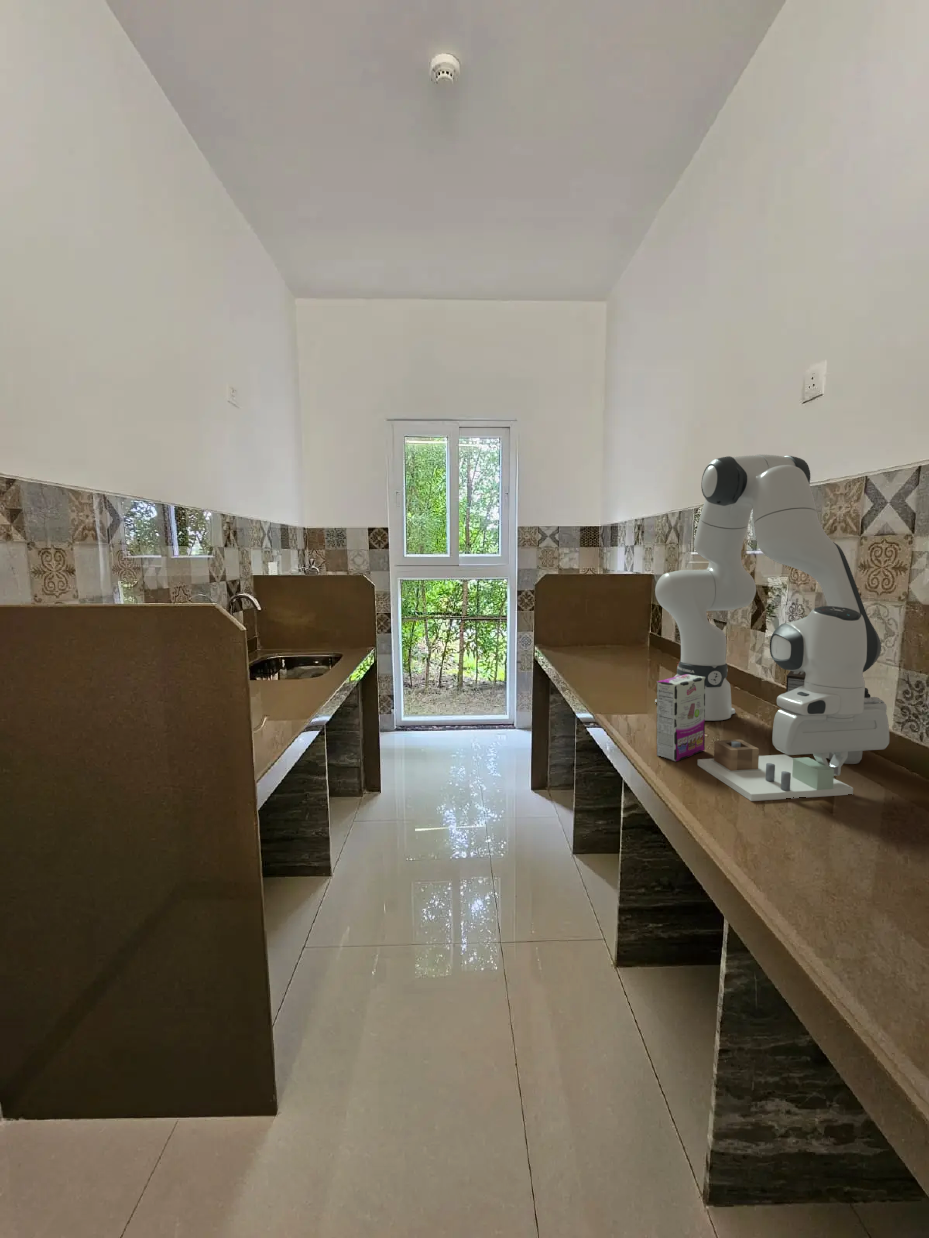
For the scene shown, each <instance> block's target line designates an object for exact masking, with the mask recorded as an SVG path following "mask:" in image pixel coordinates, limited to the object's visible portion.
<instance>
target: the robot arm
mask: <svg viewBox="0 0 929 1238" xmlns="http://www.w3.org/2000/svg"><path fill="white" fill-rule="evenodd" d="M810 482H811V470H810V467H809V465H808V463H807V462H806V461H805V460H804V459H802V458H800V457H797V456H793V455H784V456H783V455H774V454H755V455H742V456H734V457H733V456H729V455H728V456H722V457H717V458H716V459H713V460H711V461H710V462H709V463H708V465H707V466H706V467H705V469H704V471H703V474H702V477H701V493H702V495H703V497H704V502H703V506H702V508H701V511H700V516H699V519H698V523H697V527H696V531H695V536H694V540H693V546H694V547H693V548H694V550H695V552H696V553H697V555H699V556H700V557H701V558H703V559H704V560H706V561H708V565H707V567H706V568H704V569H679V570H675V571H670V572H666V573H663V574H662V575H661V576H660V577H659V578H658V579H657V582H656V584H655V589H654V591H655V592H654V595H655V598H656V601H657V603H658V604H659V605H660V606H661V608H663V609H664V610H665V611H666V612H668V613H669V615H671V618H673V620H674V621H675V622H676V625H677V628H678V631H679V637H680V661H676V663H678V664H676V666H677V667H676V674H675V675H674V676H673V677H677V676H681V675H685V674H691V675H696V676H702V677H705V721H723V720H728V719H730V718H731V717H732V715H733V714H736V709H735V708H734V707H732V691H731V684H730V682H729V681H728V680H727V677H728V672H729V671H728V670H729V668H728V663H727V660H726V659H727V636H726V634H725V632H724V631H723V629H721V628H720V627H718V626H716V625H714V624H712V623H711V622H710V621H709V619H708V615H707V612H710V611H711V612H714V611H715V612H717V611H719V612H720V611H733V610H737V609H742V608H746V607H748V606H750V605H751V604H752V602H753V600H754V599H755V597H756V593H757V585H756V581H755V580H754V578H753V576H752V575H751V574H750V573H749V572H748V571H747V570H746V569H745V567H744V565H743V562H742V549H743V545H744V541H745V536H746V533H747V528H748V526H749V521H750V518H751V515H752V516H753V525H754V527H753V528H754V533H755V534H754V535H755V540H756V543H757V546H758V549H759V550H760V551H761V552H762V553H763V554H764V556H766V557H767V558H768V559H770V560H772V561H773V562H775V563H778V564H780V565H783V566H787V567H790V568H793V569H796V570H798V571H800V572H803V573H805V574H807V575H809V576H810V577H811V578H813V579H814V580H815V581H816V582H817V583H818V584H819V586H820V589H821V590H822V594H823V597H824V600H825V602H826V605H825V606H822V605H821V606H819V607H814V608H813V609H811V611H810V612H809V614H808V615H807V616H804V617H803V618H800V619H797V620H793V621H790V622H786V623H781V624H779V625H778V626H777V627H776V628H775V630H774V631H773V632H772V633H771V637H770V639H769V653H770V656H771V657H770V658H771V659H772V660H773V661H774V663H775V664H776V665H778V667H780V668H781V669H783V670H786V671H789V672H790V671H797V672H805V673H806V676H805V680H804V685H803V686H800V687H798V688H796V689H794V690H791V691H789V692H786V691H785V692H784V693H781V694H779V695H778V696H777V697H776V705H777V707H779V708H780V709H778V710H777V712H776V713H775V715H774V719H773V725H772V726H773V727H772V738H771V740H772V745H773V746H774V748H775V749H776V750H777V751H779V752H781V753H783V754H784V755H787V756H794V755H796V756H798V755H810V754H811V755H812V756H813V757H814V760H815V761H817V762H819V763H821V764H824V765H826V766H828V767H830V768H832V769H834V776H835V777H836V776H840V775H841V771H842V770H841V769H842V766H843V765H844V764H845V763H844V762H845V760H846V759H847V757H848V751H877V750H885V749H886V748H887V747H888V746H889V744H890V727H889V726H890V725H889V718H888V714H887V710H888V709H887V704H886V703H885V701H884V700H882V699H880V698H879V697H877V696H872V697H870V698H864V693H865V688H866V683H865V678H864V674H863V673H864V672H866V671H868V670H869V669H870V668H872V667H873V666H874V664H875V663H876V662H877V661H878V659H879V657H880V656H881V652H882V643H881V638H880V636H879V634H878V632H877V631H876V629H875V627H874V625H873V624H872V622H871V620H870V617H869V616H868V614H867V612H866V608H865V606H864V603H863V601H862V598H861V595H860V592H859V589H858V587H857V584H856V580H855V579H854V575H853V573H852V569H851V567H850V565H849V563H848V560H847V557H846V555H845V553H844V551H843V550H842V548H841V547H840V545H838V544H837V543H836V542H835V541H833V540H832V539H831V538H830V537H829V536H828V534H827V533H826V531H825V529H824V528H823V527H822V524H821V522H820V519H819V516H818V510H817V505H816V501H815V497H814V494H813V490H812V488H811V487H812V486H811V485H810ZM751 513H752V514H751ZM655 702H657V698H655V699H654V703H655ZM829 753H832V754H834V755H833V757H832V759H831V760H830V761H829V762H828V760H827V759H828V758H829Z"/></svg>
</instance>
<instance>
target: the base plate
mask: <svg viewBox="0 0 929 1238" xmlns="http://www.w3.org/2000/svg"><path fill="white" fill-rule="evenodd" d="M731 746H732V747H733V748H736V747H741V743H740V742H736V741H733V742H732V743H731ZM793 758H794V757H791V756H790V755H787V754H771V755H759V760H758V769H751V770H734V771H730V770H729V769H727V768H725V767H724V766H722V765H721V764H719V763H717V762H716V761H714V758H702V759H699V758H698V759H697V766H698V767H700V768H701V769H702V770H704V771H705V772H707V773H708V774H710V775H712V776H713V777H714V778H716V779H717V780H719V781H720V782H722V783H724V784H725V785H727V786H728V787H729V788H731V789H732V790H734V791H735V792H737V793H738V794H739V795H742V797H744V798H746V800H749V801H750V802H758V801H761V802H762V801H773V800H774V801H775V800H786V798H791V799H800V798H799V797H806V798H818V797H833V796H849V795H848V794H852V795H854V787H852V786H851V785H849V784H847V783H845V782H842V781H841V780H838V779H836V778H834V779H833V789H823V790H816V789H814V788H813V787H811V786H809V785H807V784H805V783H803V782H801V781H800V780H798V779H796V778H794V777H792V773H793ZM793 797H794V798H793Z"/></svg>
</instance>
